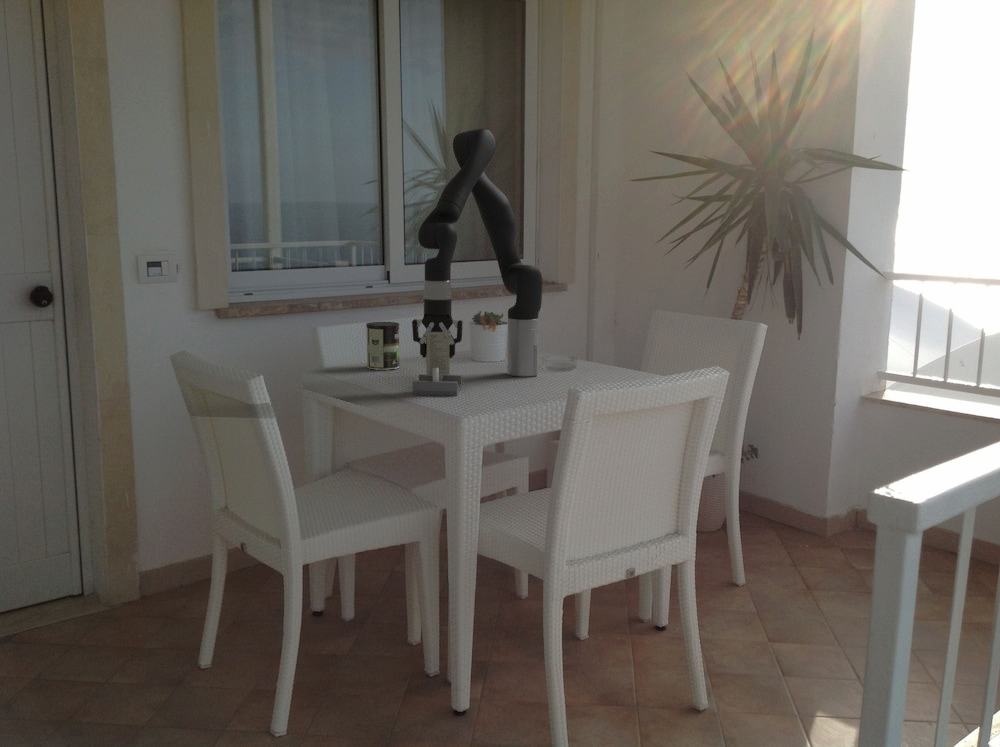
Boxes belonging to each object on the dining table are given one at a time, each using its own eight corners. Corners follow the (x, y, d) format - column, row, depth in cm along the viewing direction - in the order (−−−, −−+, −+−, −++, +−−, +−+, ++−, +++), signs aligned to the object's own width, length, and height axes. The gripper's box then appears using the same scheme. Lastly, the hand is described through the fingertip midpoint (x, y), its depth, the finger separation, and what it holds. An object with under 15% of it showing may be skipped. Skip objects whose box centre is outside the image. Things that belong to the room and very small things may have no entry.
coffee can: (400, 365, 302) (400, 321, 299) (399, 370, 292) (398, 325, 289) (367, 365, 301) (367, 321, 299) (365, 370, 291) (364, 325, 288)
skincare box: (447, 373, 262) (448, 329, 260) (449, 375, 258) (450, 331, 256) (425, 373, 261) (425, 329, 259) (426, 376, 257) (426, 331, 255)
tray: (461, 387, 266) (461, 362, 265) (457, 395, 254) (457, 369, 253) (419, 386, 267) (419, 361, 266) (412, 394, 255) (412, 368, 254)
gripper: (465, 296, 259) (465, 356, 262) (413, 295, 260) (413, 354, 263) (462, 299, 252) (462, 360, 255) (409, 297, 253) (409, 359, 256)
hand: (437, 357), depth 259 cm, fingers closed on skincare box, 7 cm apart
